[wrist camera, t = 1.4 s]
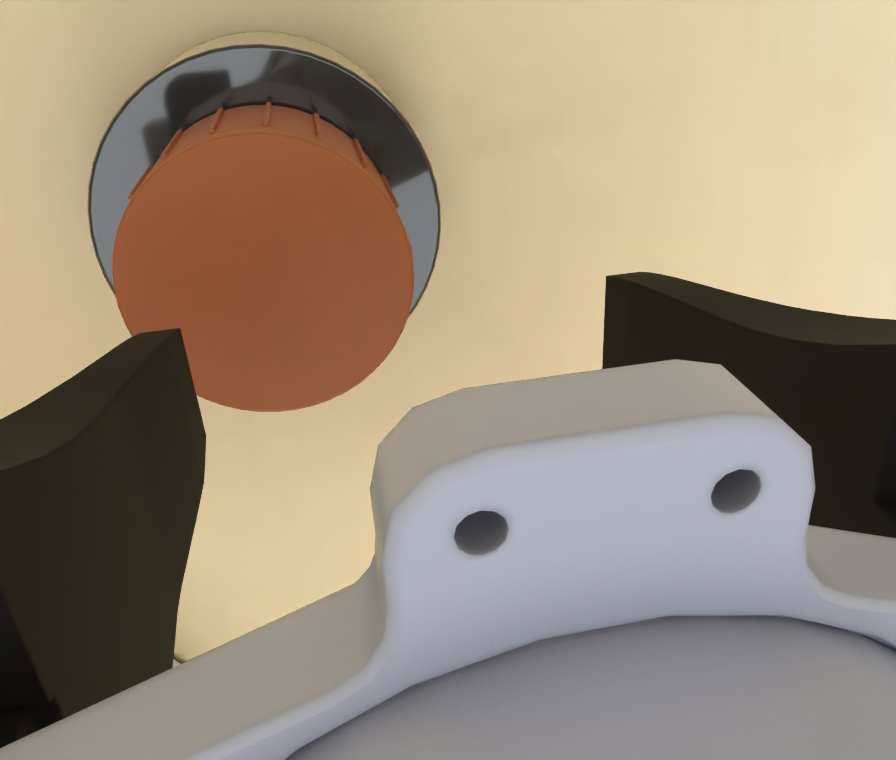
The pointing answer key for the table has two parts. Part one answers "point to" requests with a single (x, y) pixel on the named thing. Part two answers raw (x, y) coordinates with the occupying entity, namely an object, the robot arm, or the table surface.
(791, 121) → the table surface
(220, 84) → the grey round holder
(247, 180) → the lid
